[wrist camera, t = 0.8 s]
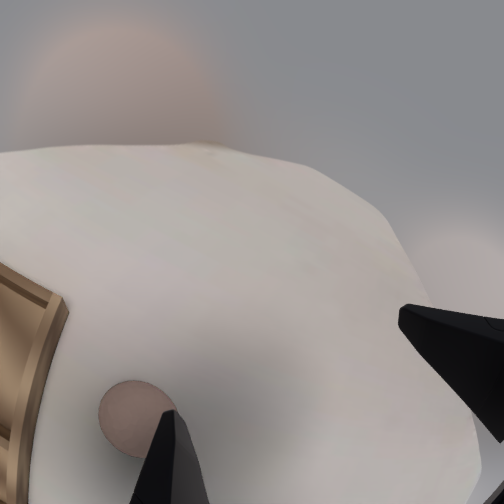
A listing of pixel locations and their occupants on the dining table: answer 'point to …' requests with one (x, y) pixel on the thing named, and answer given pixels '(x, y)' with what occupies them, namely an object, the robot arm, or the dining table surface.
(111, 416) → the egg
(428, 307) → the robot arm
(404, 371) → the dining table surface
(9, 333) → the crate
